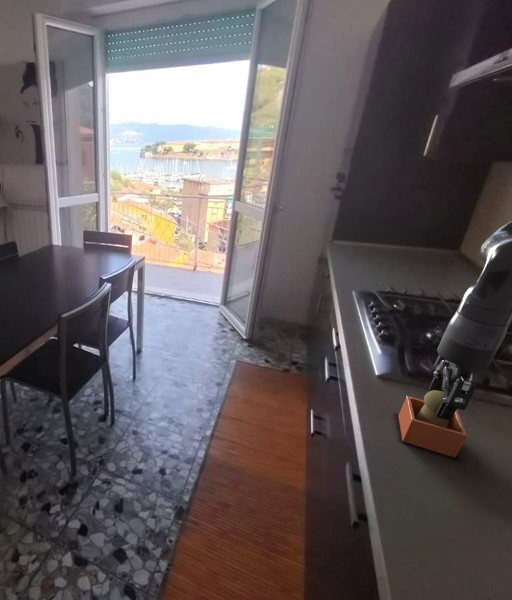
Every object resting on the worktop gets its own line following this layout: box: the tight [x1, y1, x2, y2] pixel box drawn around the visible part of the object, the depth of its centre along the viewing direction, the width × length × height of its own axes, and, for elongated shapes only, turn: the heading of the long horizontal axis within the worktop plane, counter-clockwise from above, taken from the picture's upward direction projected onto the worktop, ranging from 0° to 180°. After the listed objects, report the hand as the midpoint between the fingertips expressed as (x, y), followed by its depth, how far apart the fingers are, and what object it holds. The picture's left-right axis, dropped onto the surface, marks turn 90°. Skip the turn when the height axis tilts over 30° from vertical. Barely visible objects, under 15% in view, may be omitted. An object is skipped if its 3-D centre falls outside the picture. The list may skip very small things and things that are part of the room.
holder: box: [397, 395, 468, 459], centre depth 76 cm, size 9×9×6 cm
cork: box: [415, 390, 449, 428], centre depth 75 cm, size 6×6×11 cm
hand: (438, 404), depth 73 cm, fingers open, 8 cm apart
